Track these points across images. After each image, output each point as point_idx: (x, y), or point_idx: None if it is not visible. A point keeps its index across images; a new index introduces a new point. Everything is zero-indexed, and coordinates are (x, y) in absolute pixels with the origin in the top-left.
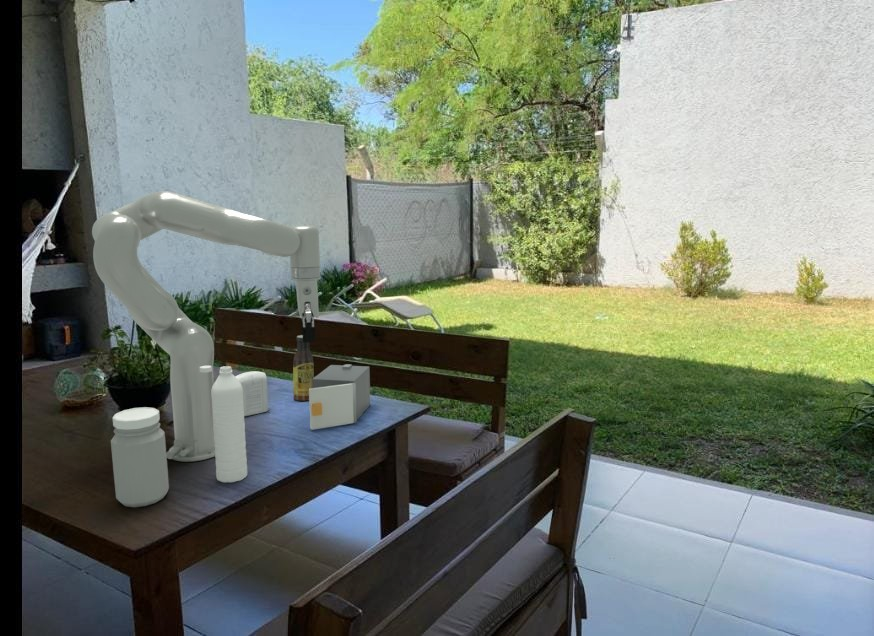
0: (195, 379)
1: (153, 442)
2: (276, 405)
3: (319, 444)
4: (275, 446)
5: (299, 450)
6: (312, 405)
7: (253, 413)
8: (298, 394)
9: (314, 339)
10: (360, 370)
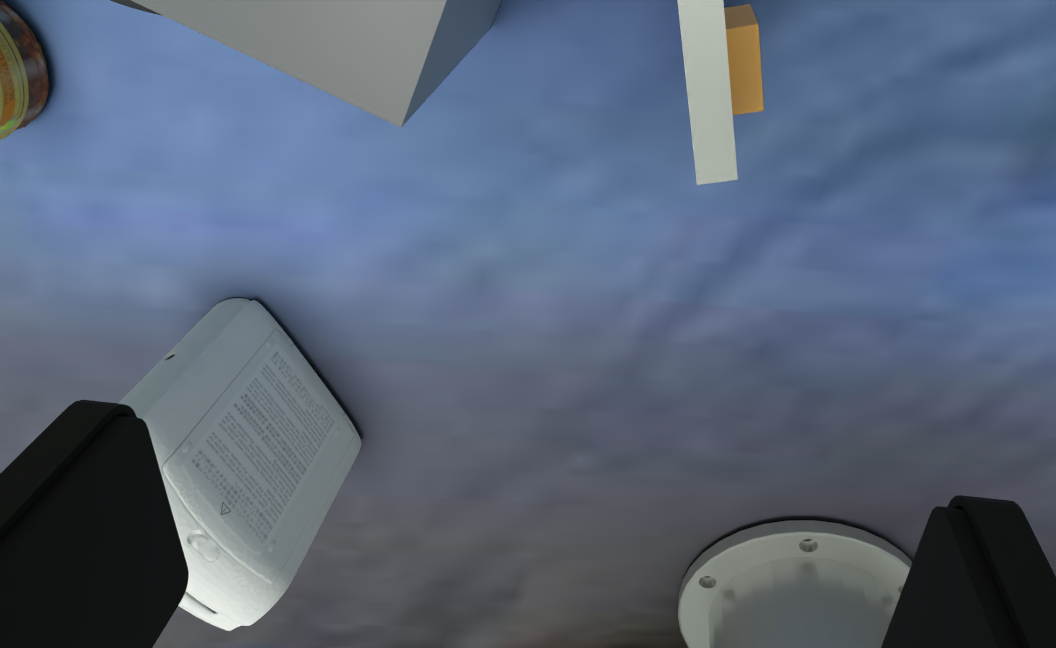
0: None
1: None
2: (139, 241)
3: (1013, 32)
4: (898, 301)
5: (1051, 175)
6: (749, 110)
7: (315, 377)
8: (21, 111)
9: (1021, 552)
10: None
